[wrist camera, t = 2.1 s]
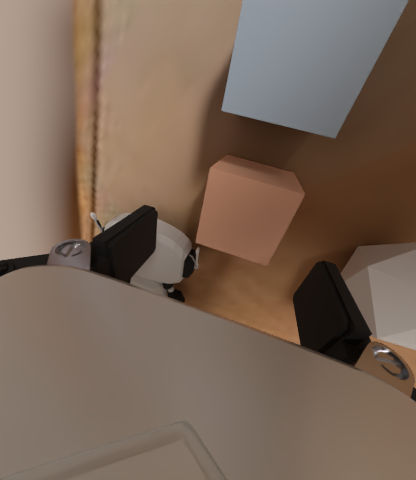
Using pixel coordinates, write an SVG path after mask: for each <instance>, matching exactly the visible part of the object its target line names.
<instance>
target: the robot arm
mask: <svg viewBox="0 0 416 480" xmlns="http://www.w3.org/2000/svg"><path fill="white" fill-rule="evenodd" d="M157 217H158V212H157V211H155V208H154V207H151V206H147V205H144V206H142V207H140V208H139V209H137V210H136V211H134V212H133V213H131V214H130V215H128V216H126V217H125V218H123V219H122V220H120V221H119V222H117V223H116V224H114V225H113V226H111V227H109V228H108V229H106V230H105V231H103V232H102V233H100V234H99V235H97V236H95V237H94V238H93V241H92V242H90V243H89V242H88V241H85V240H81V239H71V240H65V241H62V242H60V243H58V244H56V245H55V246H53V247H52V249H51V251H50V254H44V255H37V256H30V257H23V258H15V259H8V260H2V261H0V480H416V389H415V388H414V383H415V377H414V375H413V372H412V370H411V369H410V367H409V366H408V364H407V363H406V362H405V361H404V360H403V358H402V357H401V356H400V355H398V354H397V353H396V352H395V351H394V350H392V349H391V348H389V347H388V346H386V345H384V344H382V343H379V342H376V341H373V342H371V340H370V338H369V336H371V335H372V333H371V331H370V329H369V327H368V325H367V323H366V321H365V319H364V317H363V316H362V314H361V312H360V310H359V308H358V306H357V304H356V302H355V300H354V298H353V297H352V295H351V293H350V291H349V289H348V287H347V285H346V283H345V281H344V279H343V278H342V276H341V274H340V272H339V270H338V268H337V266H336V265H335V264H333V263H330V262H327V261H321V262H317V263H316V264H315V266H314V267H313V269H312V270H311V271H310V273H309V274H308V276H307V277H306V278H305V280H304V281H303V282H302V284H301V285H300V287H299V288H298V289H297V291H296V292H295V294H294V296H293V303H294V309H295V315H296V320H297V326H298V332H299V338H300V344H301V345H298V344H295V343H293V342H290V341H287V340H285V339H282V338H279V337H276V336H274V335H271V334H268V333H266V332H263V331H260V330H257V329H255V328H252V327H249V326H247V325H244V324H241V323H238V322H236V321H233V320H230V319H227V318H225V317H222V316H219V315H216V314H214V313H211V312H208V311H205V310H203V309H200V308H197V307H194V306H192V305H189V304H186V303H183V302H181V301H178V300H175V299H172V298H169V297H167V296H164V295H161V294H158V293H155V292H153V291H150V290H147V289H144V288H141V287H139V286H136V285H133V284H130V283H127V282H128V281H129V280H130V279H131V278H132V277H133V275H134V274H135V273H136V272H137V271H138V270H139V269H140V268H141V266H142V265H143V264H144V263H145V262H146V261H147V260H148V258H149V257H150V256H151V255H152V254H153V253H154V251H155V249H156V235H157Z"/></svg>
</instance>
